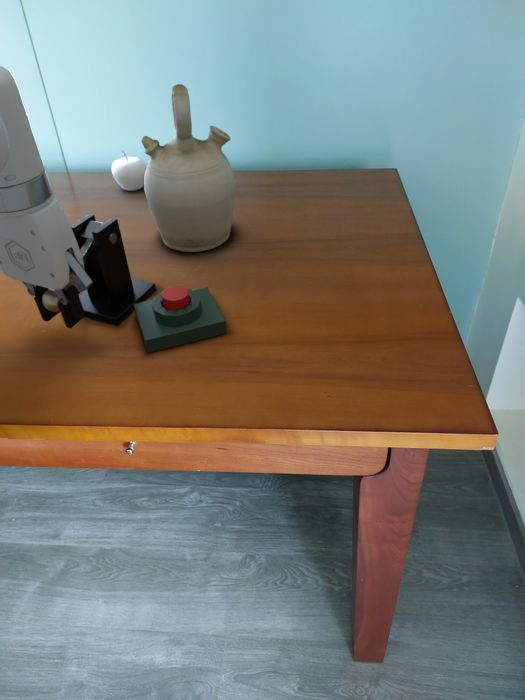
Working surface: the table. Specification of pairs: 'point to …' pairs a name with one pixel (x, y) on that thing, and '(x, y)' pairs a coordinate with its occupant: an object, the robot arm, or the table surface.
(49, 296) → the lever
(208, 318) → the button box
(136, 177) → the plain white apple
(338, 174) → the table surface
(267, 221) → the table surface
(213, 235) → the jug
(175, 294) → the button
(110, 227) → the bracket
